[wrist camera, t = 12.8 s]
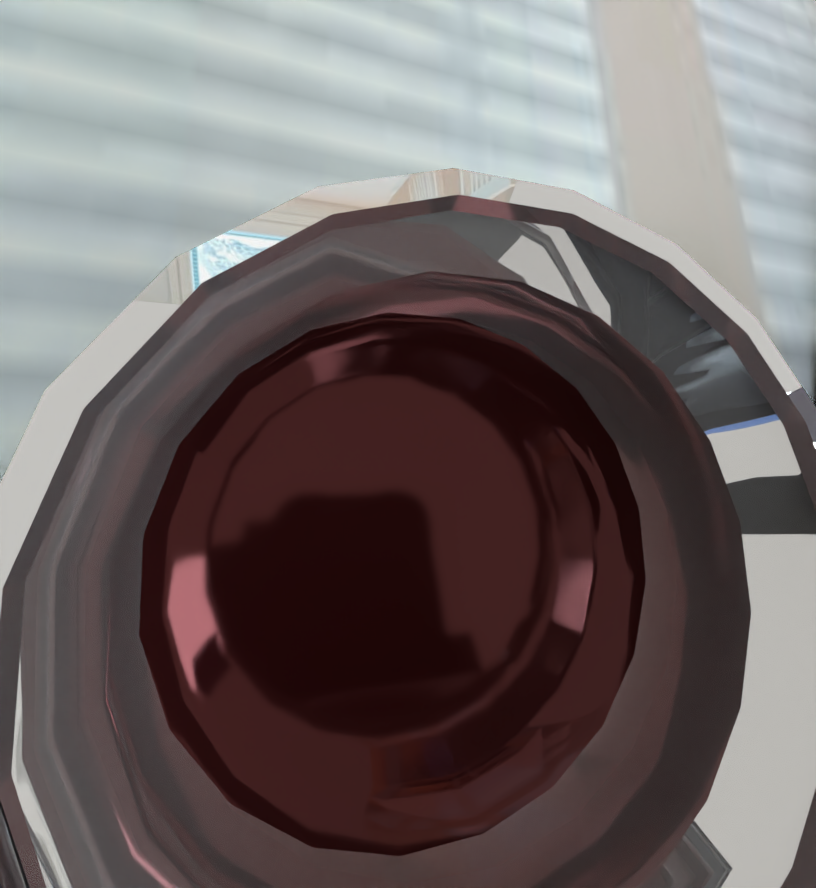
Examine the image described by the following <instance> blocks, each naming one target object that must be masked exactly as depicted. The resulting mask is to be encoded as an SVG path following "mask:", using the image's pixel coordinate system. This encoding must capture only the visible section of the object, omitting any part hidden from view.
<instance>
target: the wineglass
mask: <svg viewBox="0 0 816 888" xmlns="http://www.w3.org/2000/svg"><path fill="white" fill-rule="evenodd" d="M0 884H1V887H2V888H816V407H815V405H814V404H813V402H812V401H811V399H810V398H809V396H808V395H807V393H806V392H805V390H804V389H803V387H802V386H801V384H800V383H799V381H798V380H797V378H796V377H795V375H794V374H793V372H792V371H791V369H790V367H789V366H788V364H787V363H786V361H785V360H784V358H783V357H782V355H781V354H780V352H779V351H778V349H777V348H776V346H775V345H774V343H773V342H772V340H771V339H770V337H769V336H768V334H767V333H766V331H765V330H764V328H763V326H762V325H761V323H760V322H759V320H758V319H757V318H756V317H755V316H754V315H753V314H752V313H751V312H750V311H749V310H747V309H746V308H745V307H744V306H743V305H742V304H741V303H740V302H739V301H738V300H737V299H736V298H734V297H733V296H732V295H731V294H730V293H729V292H728V291H727V290H726V289H725V288H724V287H723V286H722V285H720V284H719V283H718V282H717V281H716V280H715V279H714V278H713V277H712V276H711V275H710V274H709V273H707V272H706V271H705V270H704V269H703V268H702V267H701V266H700V265H699V264H698V263H697V262H696V261H694V260H693V259H692V258H691V257H690V256H689V255H688V254H687V253H686V252H685V251H684V250H683V249H682V248H680V247H679V246H678V245H677V244H676V243H675V242H673V241H671V240H669V239H667V238H665V237H663V236H661V235H659V234H657V233H655V232H653V231H651V230H649V229H648V228H646V227H644V226H642V225H640V224H638V223H636V222H634V221H632V220H630V219H628V218H626V217H624V216H622V215H621V214H619V213H617V212H615V211H613V210H611V209H609V208H607V207H605V206H603V205H601V204H599V203H597V202H595V201H594V200H592V199H590V198H588V197H586V196H584V195H582V194H580V193H578V192H576V191H574V190H569V189H564V188H558V187H553V186H547V185H542V184H537V183H531V182H526V181H520V180H515V179H510V178H504V177H499V176H493V175H488V174H483V173H477V172H472V171H466V170H461V169H456V168H451V169H444V170H436V171H429V172H421V173H414V174H407V175H399V176H392V177H384V178H377V179H369V180H362V181H354V182H347V183H339V184H332V185H325V186H318V187H316V188H314V189H312V190H310V191H308V192H306V193H304V194H302V195H300V196H298V197H296V198H294V199H292V200H290V201H288V202H286V203H284V204H282V205H280V206H278V207H276V208H274V209H272V210H270V211H268V212H266V213H264V214H262V215H259V216H257V217H255V218H253V219H251V220H249V221H247V222H245V223H243V224H241V225H239V226H237V227H235V228H233V229H231V230H229V231H227V232H225V233H223V234H221V235H219V236H217V237H215V238H213V239H211V240H209V241H207V242H205V243H203V244H201V245H199V246H197V247H195V248H193V249H191V250H189V251H187V252H185V253H183V254H181V255H179V256H177V257H175V258H174V259H173V260H172V261H171V262H170V263H169V264H168V265H167V266H166V268H165V269H164V270H163V271H162V272H161V273H160V274H159V275H158V276H157V277H156V278H155V279H154V280H153V281H152V282H151V283H150V284H149V285H148V286H147V287H146V288H145V289H144V290H143V291H142V292H141V293H140V294H139V295H138V296H137V297H136V298H135V299H134V300H133V301H132V302H131V303H130V304H129V305H128V306H127V307H126V308H125V309H124V310H123V311H122V312H121V313H120V314H119V315H118V316H117V317H116V318H115V319H114V320H113V321H112V322H111V323H110V324H109V325H108V326H107V327H106V328H105V329H104V330H103V331H102V332H101V334H100V335H99V336H98V337H97V338H96V339H95V340H94V341H93V342H92V343H91V344H90V345H89V346H88V347H87V348H86V349H85V350H84V351H83V352H82V353H81V354H80V355H79V356H78V357H77V358H76V359H75V360H74V361H73V362H72V363H71V364H70V365H69V366H68V367H67V368H66V369H65V370H64V371H63V372H62V373H61V374H60V375H59V376H58V377H57V378H56V379H55V380H54V381H53V382H52V383H51V384H50V385H49V386H48V387H47V388H46V389H45V390H44V392H43V394H42V396H41V399H40V401H39V403H38V405H37V407H36V409H35V411H34V413H33V415H32V418H31V420H30V422H29V424H28V426H27V428H26V430H25V432H24V434H23V437H22V439H21V441H20V443H19V445H18V447H17V449H16V451H15V453H14V456H13V458H12V460H11V462H10V464H9V466H8V468H7V470H6V472H5V474H4V477H3V479H2V481H1V483H0Z"/></svg>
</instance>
